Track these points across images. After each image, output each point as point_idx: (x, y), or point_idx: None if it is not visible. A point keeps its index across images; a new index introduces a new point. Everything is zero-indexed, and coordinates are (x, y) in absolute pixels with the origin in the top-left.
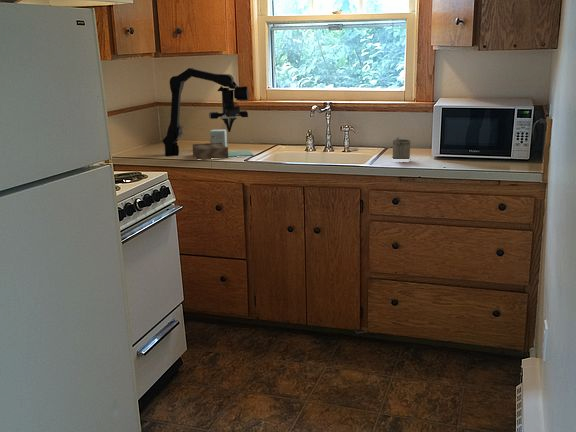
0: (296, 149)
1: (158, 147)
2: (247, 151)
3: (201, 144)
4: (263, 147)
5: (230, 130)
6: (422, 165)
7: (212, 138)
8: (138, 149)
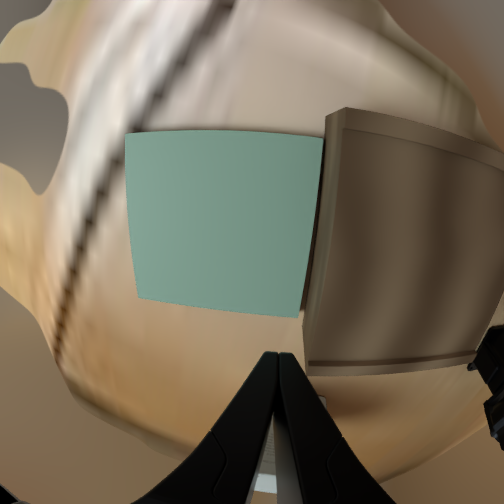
0: None
1: (427, 446)
2: (146, 267)
3: (440, 357)
4: (86, 358)
5: (258, 363)
6: None
7: None
8: (473, 426)
